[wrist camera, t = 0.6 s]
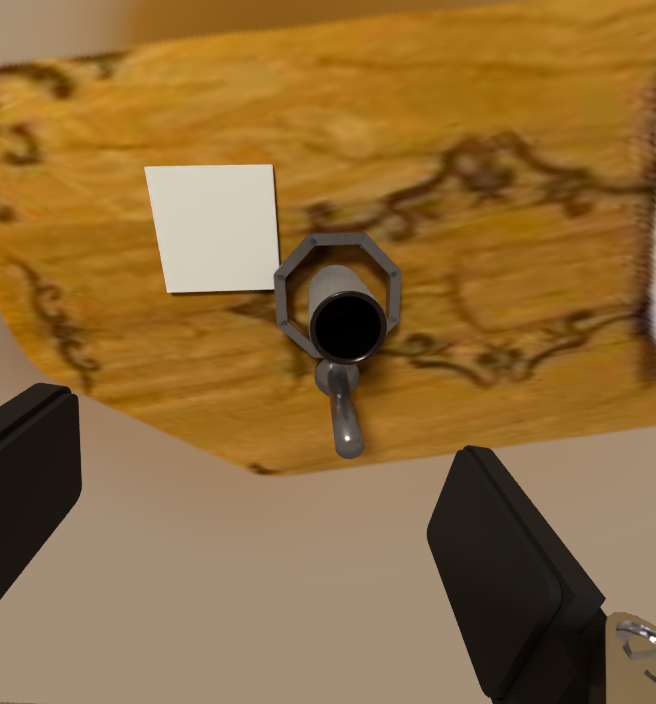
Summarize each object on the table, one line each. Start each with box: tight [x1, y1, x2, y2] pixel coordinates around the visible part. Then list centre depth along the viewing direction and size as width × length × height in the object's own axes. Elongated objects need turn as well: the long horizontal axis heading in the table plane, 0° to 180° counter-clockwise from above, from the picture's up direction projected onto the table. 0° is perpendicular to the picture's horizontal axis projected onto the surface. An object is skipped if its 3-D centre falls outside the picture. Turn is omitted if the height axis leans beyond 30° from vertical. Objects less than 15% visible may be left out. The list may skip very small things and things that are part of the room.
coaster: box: [144, 165, 280, 293], centre depth 28 cm, size 9×9×1 cm
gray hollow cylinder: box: [309, 265, 387, 365], centre depth 26 cm, size 4×4×10 cm
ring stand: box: [273, 232, 401, 459], centre depth 26 cm, size 10×14×11 cm
